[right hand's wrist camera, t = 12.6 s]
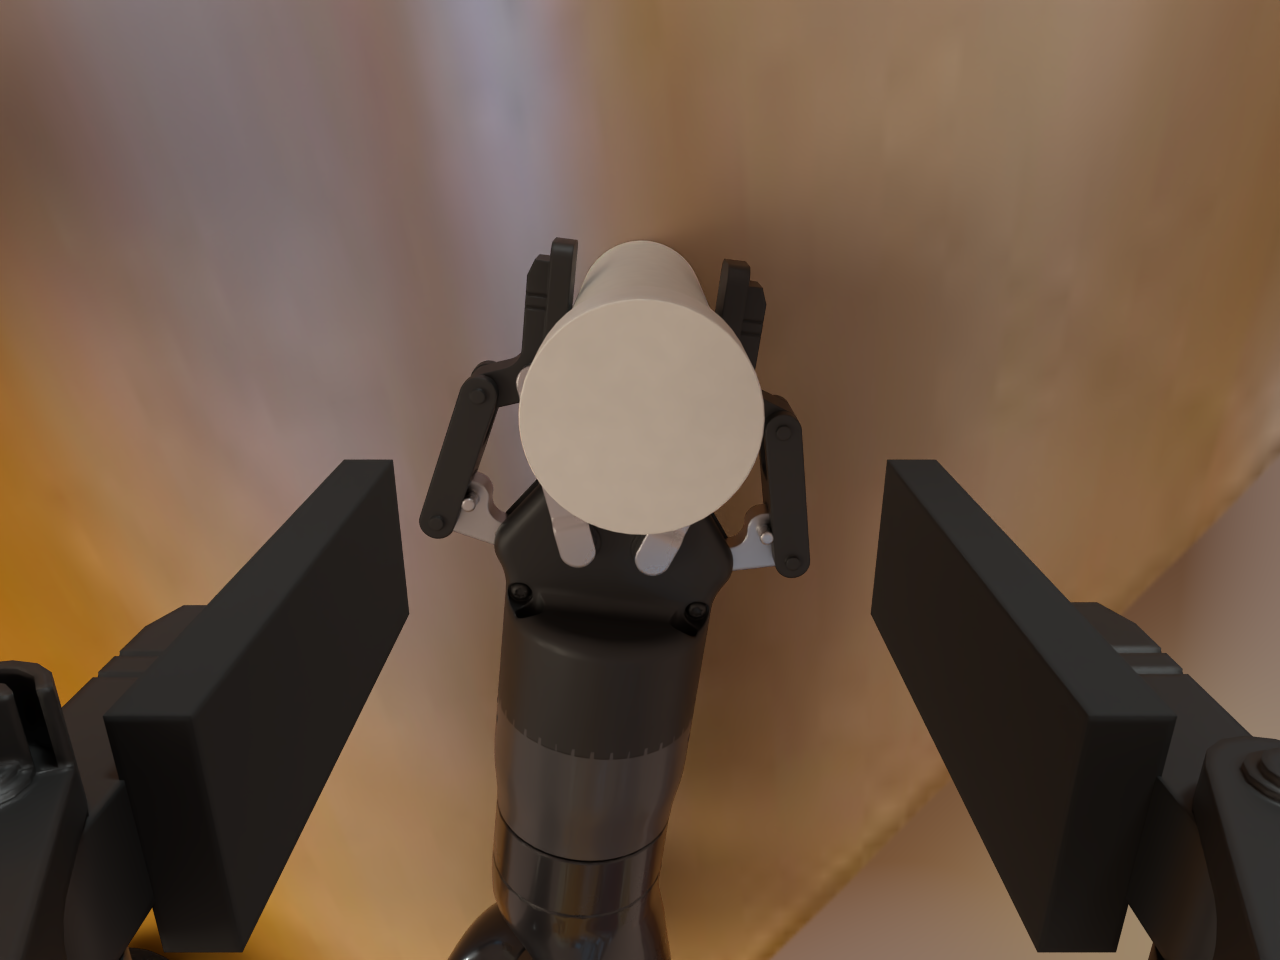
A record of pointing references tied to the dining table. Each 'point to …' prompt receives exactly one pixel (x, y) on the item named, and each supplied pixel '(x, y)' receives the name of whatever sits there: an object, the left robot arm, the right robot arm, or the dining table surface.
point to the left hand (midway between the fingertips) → (650, 254)
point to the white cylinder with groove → (641, 411)
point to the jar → (641, 271)
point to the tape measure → (144, 954)
